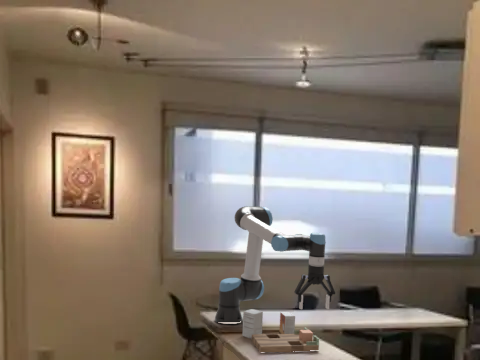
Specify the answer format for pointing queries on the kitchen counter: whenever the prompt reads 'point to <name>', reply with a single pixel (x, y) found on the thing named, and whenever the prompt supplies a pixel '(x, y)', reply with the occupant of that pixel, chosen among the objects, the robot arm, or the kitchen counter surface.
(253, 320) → the supplement box
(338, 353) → the kitchen counter surface
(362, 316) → the kitchen counter surface
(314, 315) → the kitchen counter surface
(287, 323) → the small box
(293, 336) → the tray
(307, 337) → the block
